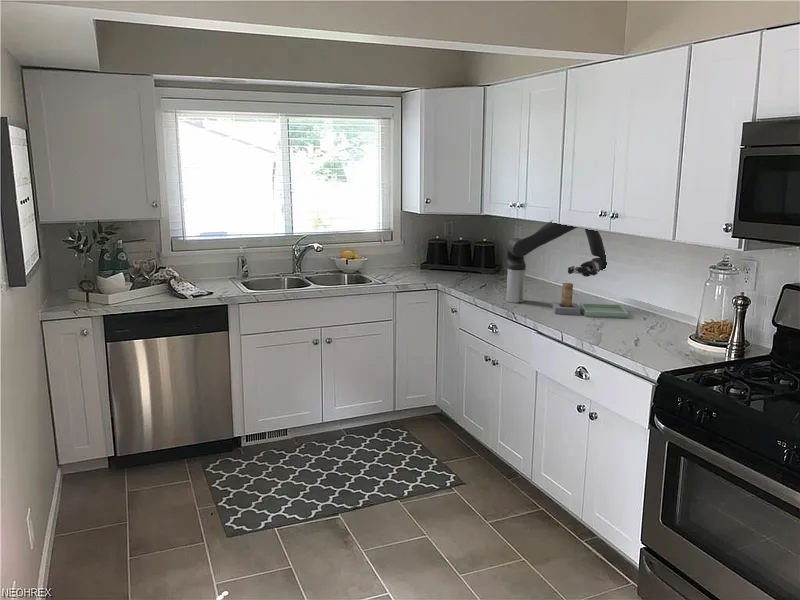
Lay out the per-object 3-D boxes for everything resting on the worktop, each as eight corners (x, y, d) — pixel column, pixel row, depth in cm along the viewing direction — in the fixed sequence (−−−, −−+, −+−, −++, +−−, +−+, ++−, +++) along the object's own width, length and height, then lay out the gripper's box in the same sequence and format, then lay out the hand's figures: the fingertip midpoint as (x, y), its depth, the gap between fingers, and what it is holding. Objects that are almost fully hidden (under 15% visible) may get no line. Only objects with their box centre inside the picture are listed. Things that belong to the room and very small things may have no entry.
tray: (579, 307, 333) (580, 303, 333) (620, 309, 331) (620, 304, 331) (585, 316, 316) (585, 311, 315) (628, 318, 314) (628, 313, 313)
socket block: (552, 308, 332) (552, 302, 331) (576, 309, 331) (576, 303, 330) (554, 313, 320) (555, 307, 320) (580, 314, 319) (580, 308, 318)
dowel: (560, 310, 328) (562, 282, 325) (570, 310, 328) (572, 283, 325) (561, 312, 323) (563, 284, 320) (571, 312, 323) (573, 285, 320)
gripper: (576, 259, 346) (564, 264, 334) (603, 262, 338) (591, 267, 325) (576, 273, 348) (563, 278, 335) (602, 276, 340) (590, 281, 327)
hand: (577, 272), depth 330 cm, fingers open, 8 cm apart
